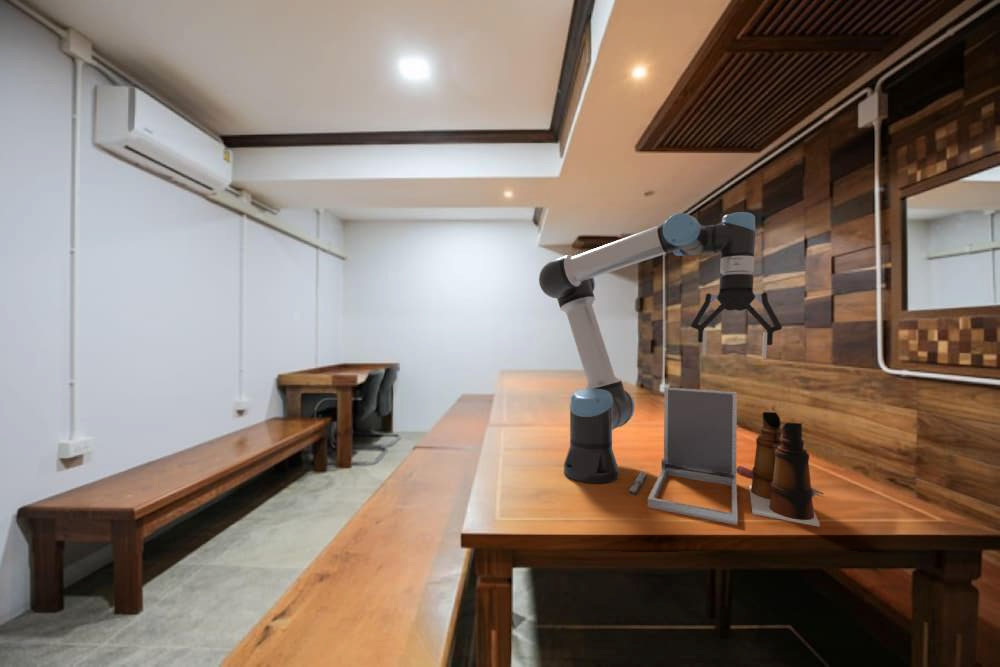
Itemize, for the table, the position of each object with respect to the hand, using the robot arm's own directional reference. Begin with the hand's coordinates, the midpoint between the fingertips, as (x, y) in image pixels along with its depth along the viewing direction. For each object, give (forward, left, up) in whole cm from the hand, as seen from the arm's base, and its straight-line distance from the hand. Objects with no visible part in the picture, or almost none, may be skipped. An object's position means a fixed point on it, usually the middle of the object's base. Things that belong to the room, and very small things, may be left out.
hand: (733, 356), depth 107 cm
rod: (-22, -10, -34) cm, 42 cm away
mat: (+10, -6, -34) cm, 36 cm away
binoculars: (+10, -6, -34) cm, 36 cm away
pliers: (+10, +11, -35) cm, 38 cm away
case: (-8, -10, -34) cm, 37 cm away
